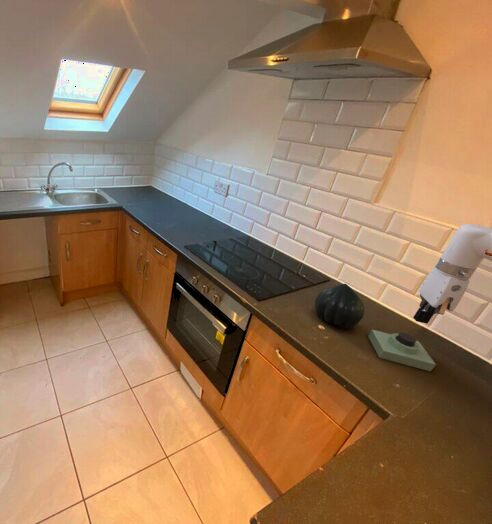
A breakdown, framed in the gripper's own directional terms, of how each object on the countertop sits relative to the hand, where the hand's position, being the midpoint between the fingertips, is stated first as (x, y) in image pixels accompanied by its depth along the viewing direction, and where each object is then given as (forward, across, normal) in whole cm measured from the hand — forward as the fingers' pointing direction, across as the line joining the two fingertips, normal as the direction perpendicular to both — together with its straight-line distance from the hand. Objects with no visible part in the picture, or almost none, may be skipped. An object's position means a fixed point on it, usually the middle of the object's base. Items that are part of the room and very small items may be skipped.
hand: (419, 320), depth 92 cm
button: (+9, 0, 0) cm, 9 cm away
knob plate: (+13, 0, 0) cm, 13 cm away
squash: (+13, +10, +18) cm, 25 cm away
